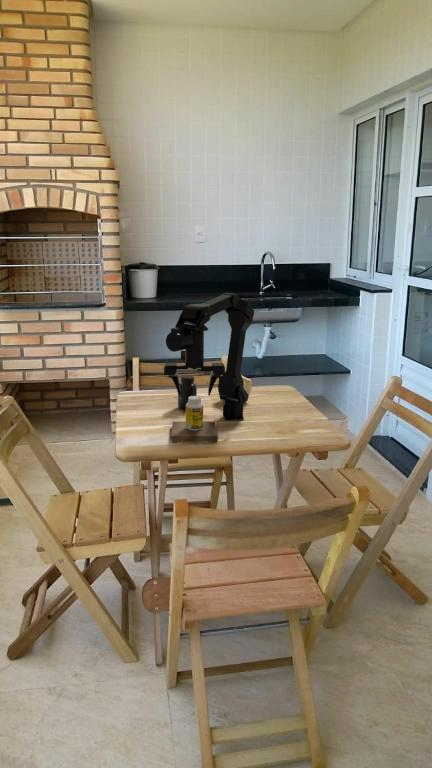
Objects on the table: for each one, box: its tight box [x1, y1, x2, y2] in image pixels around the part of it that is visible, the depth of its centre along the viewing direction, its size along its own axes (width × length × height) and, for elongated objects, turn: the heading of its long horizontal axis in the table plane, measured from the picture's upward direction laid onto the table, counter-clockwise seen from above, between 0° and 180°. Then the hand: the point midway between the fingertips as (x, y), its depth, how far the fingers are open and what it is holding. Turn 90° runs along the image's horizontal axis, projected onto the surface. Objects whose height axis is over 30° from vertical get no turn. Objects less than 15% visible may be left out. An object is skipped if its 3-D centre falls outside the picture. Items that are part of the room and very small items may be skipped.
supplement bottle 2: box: [185, 395, 204, 431], centre depth 186 cm, size 6×6×10 cm
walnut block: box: [171, 420, 218, 443], centre depth 187 cm, size 14×14×2 cm
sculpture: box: [222, 374, 253, 403], centre depth 222 cm, size 11×12×11 cm
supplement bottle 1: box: [177, 374, 198, 412], centre depth 213 cm, size 7×7×12 cm
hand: (194, 395), depth 184 cm, fingers open, 9 cm apart
